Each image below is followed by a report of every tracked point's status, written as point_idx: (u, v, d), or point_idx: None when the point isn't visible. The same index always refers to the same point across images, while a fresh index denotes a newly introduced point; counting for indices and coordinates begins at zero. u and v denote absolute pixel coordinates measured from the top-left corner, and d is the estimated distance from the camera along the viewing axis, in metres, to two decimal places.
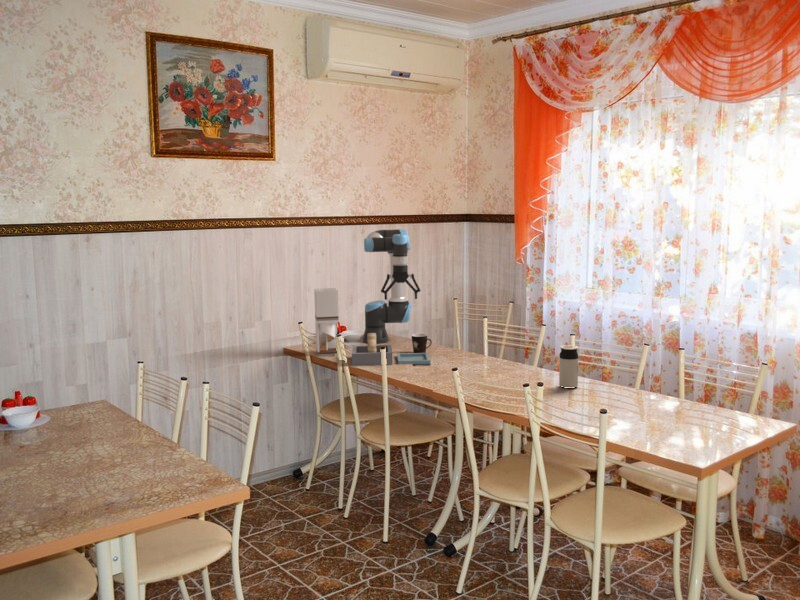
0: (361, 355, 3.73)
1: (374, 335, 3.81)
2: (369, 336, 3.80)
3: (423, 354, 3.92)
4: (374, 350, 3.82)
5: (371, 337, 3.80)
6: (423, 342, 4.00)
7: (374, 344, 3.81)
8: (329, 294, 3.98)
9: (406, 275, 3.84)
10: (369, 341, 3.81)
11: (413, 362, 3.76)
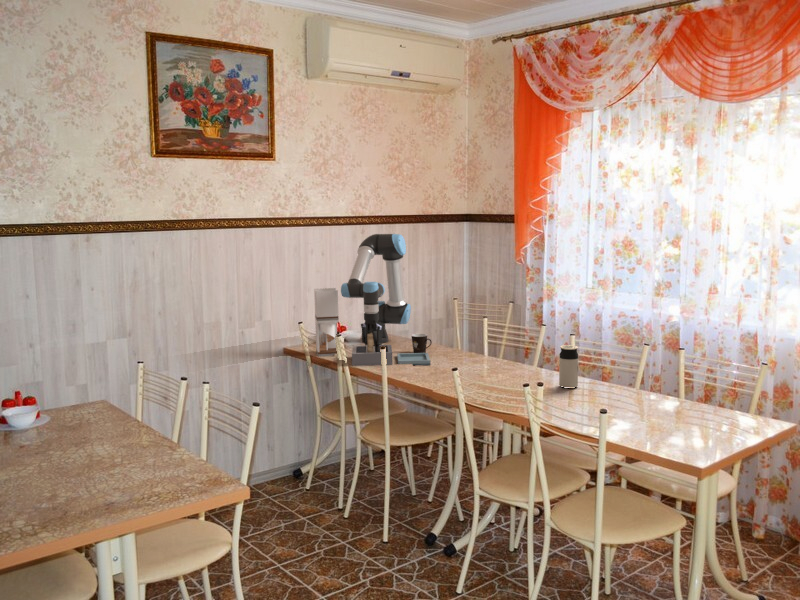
0: (361, 355, 3.73)
1: None
2: (369, 336, 3.80)
3: (423, 354, 3.92)
4: None
5: (371, 337, 3.80)
6: (423, 342, 4.00)
7: None
8: (329, 294, 3.98)
9: (374, 324, 3.78)
10: (369, 341, 3.81)
11: (413, 362, 3.76)
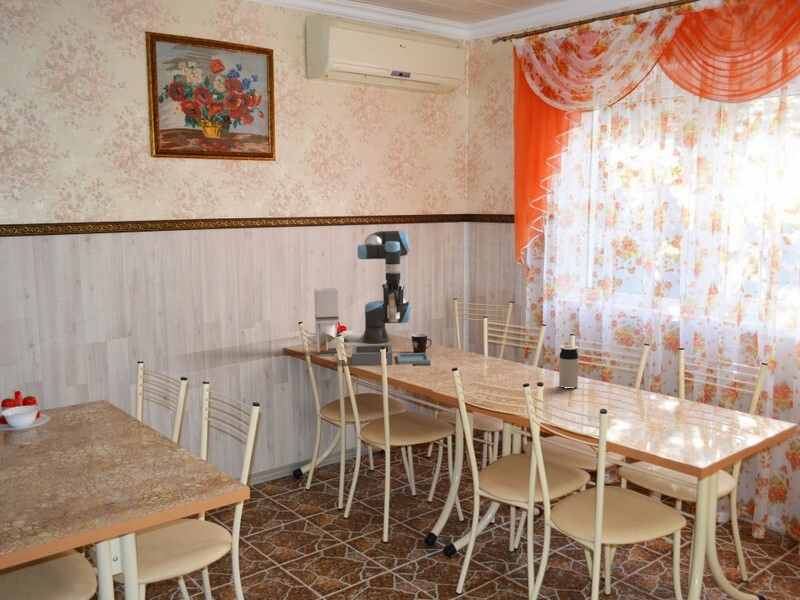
0: (361, 355, 3.73)
1: None
2: (390, 296, 3.78)
3: (423, 354, 3.92)
4: None
5: (392, 297, 3.78)
6: (423, 342, 4.00)
7: (395, 304, 3.79)
8: (329, 294, 3.98)
9: (396, 284, 3.76)
10: (390, 301, 3.78)
11: (413, 362, 3.76)
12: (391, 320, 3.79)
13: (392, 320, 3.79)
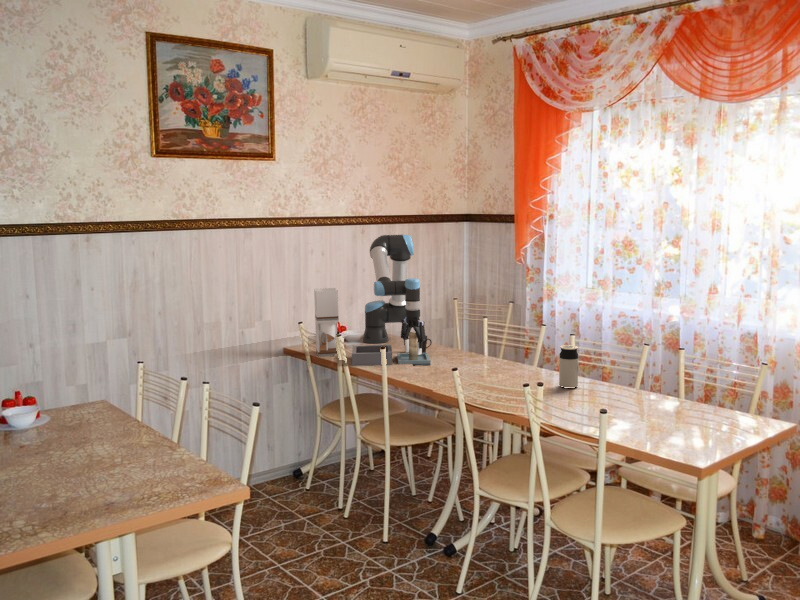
0: (361, 355, 3.73)
1: None
2: (411, 335, 3.81)
3: (423, 354, 3.92)
4: (415, 349, 3.82)
5: (413, 336, 3.81)
6: (423, 342, 4.00)
7: (416, 343, 3.82)
8: (329, 294, 3.98)
9: (416, 320, 3.79)
10: (411, 340, 3.81)
11: (413, 362, 3.76)
12: (411, 358, 3.83)
13: (412, 359, 3.83)
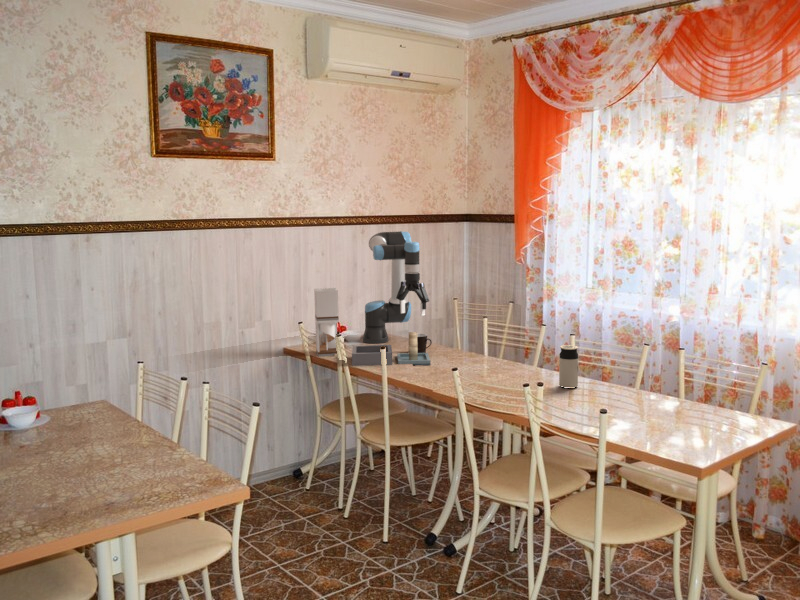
0: (361, 355, 3.73)
1: (415, 334, 3.81)
2: (410, 335, 3.81)
3: (423, 354, 3.92)
4: (415, 349, 3.82)
5: (412, 336, 3.81)
6: (423, 342, 4.00)
7: (415, 343, 3.82)
8: (329, 294, 3.98)
9: (415, 284, 3.76)
10: (410, 340, 3.82)
11: (413, 362, 3.76)
12: (411, 359, 3.83)
13: (412, 359, 3.83)
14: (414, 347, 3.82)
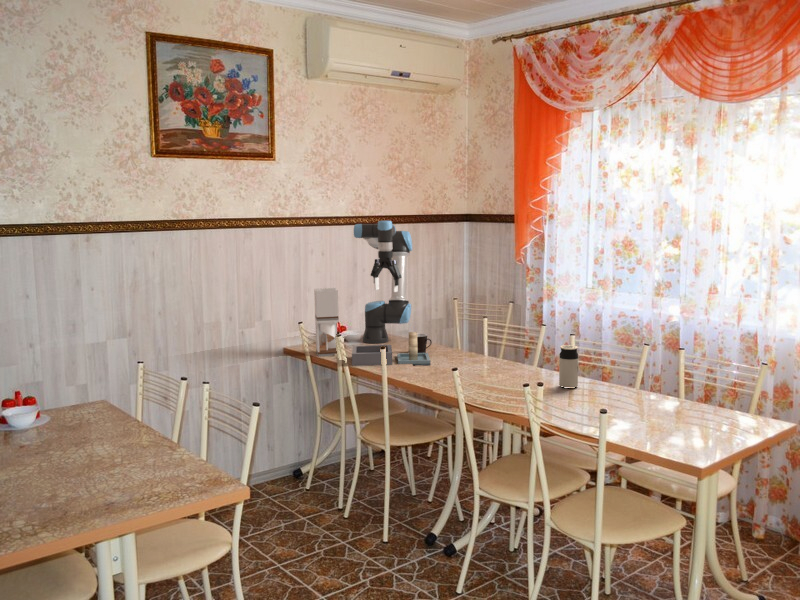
0: (361, 355, 3.73)
1: (415, 334, 3.81)
2: (410, 335, 3.81)
3: (423, 354, 3.92)
4: (415, 349, 3.82)
5: (412, 336, 3.81)
6: (423, 342, 4.00)
7: (415, 343, 3.82)
8: (329, 294, 3.98)
9: (388, 261, 3.90)
10: (410, 340, 3.82)
11: (413, 362, 3.76)
12: (411, 359, 3.83)
13: (412, 359, 3.83)
14: (414, 347, 3.82)
